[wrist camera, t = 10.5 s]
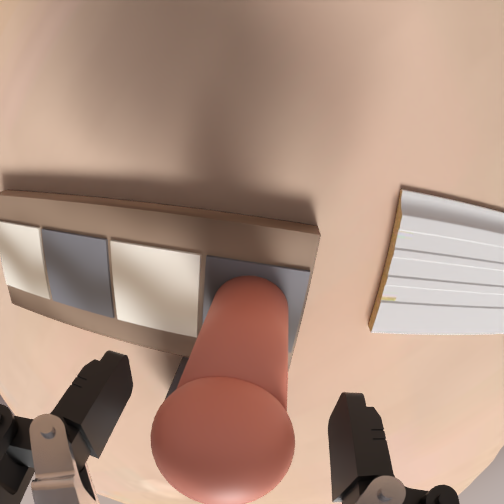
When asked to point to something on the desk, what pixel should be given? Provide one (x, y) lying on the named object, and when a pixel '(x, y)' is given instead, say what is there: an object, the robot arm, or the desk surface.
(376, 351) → the desk surface
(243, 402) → the pawn
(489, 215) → the baseboard
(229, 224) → the game strip
